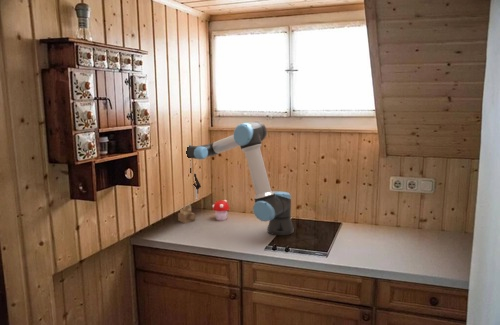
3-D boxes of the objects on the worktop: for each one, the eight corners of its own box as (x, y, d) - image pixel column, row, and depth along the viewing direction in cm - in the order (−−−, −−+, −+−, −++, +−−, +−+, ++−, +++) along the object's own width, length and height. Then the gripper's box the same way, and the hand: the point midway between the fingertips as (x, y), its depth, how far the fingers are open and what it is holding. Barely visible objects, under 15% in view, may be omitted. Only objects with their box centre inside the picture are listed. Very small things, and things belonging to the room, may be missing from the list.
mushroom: (217, 222, 265) (216, 203, 263) (209, 217, 274) (209, 199, 272) (232, 219, 270) (232, 201, 268) (224, 215, 279) (224, 197, 277)
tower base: (188, 218, 274) (188, 210, 273) (194, 221, 268) (194, 213, 267) (178, 220, 269) (178, 213, 268) (184, 223, 263) (184, 215, 262)
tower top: (187, 211, 271) (187, 204, 270) (191, 213, 267) (191, 205, 266) (180, 213, 268) (180, 205, 267) (184, 214, 264) (183, 207, 263)
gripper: (199, 164, 273) (200, 196, 277) (163, 168, 258) (165, 202, 262) (205, 165, 267) (206, 198, 271) (169, 170, 253) (171, 205, 256)
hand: (186, 200), depth 266 cm, fingers open, 13 cm apart
